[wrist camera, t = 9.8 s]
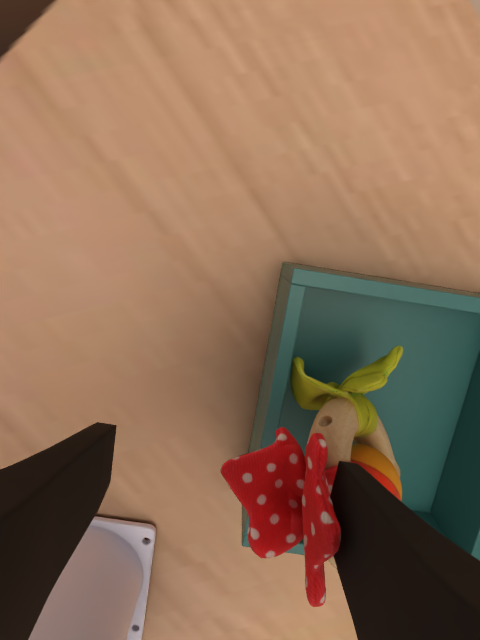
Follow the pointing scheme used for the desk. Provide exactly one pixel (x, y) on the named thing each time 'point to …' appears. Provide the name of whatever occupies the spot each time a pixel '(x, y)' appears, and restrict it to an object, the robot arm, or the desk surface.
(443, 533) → the open box
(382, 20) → the desk surface
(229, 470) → the bird rattle
